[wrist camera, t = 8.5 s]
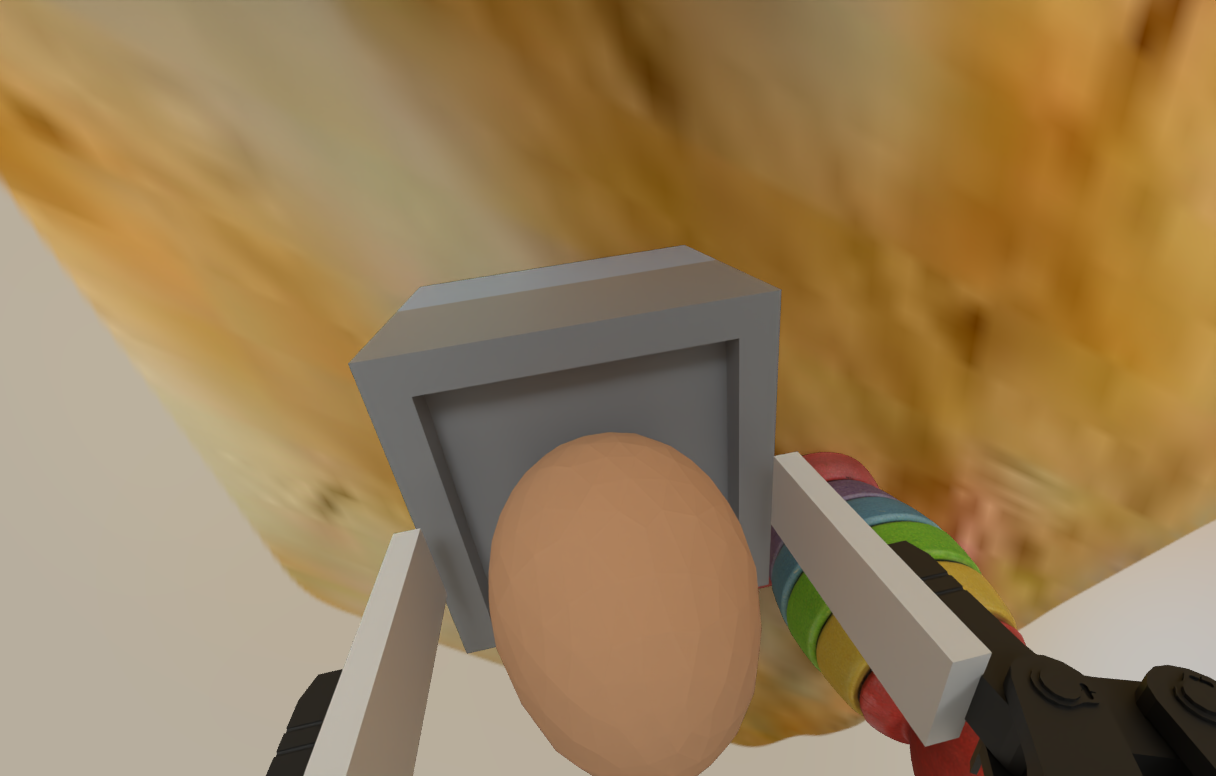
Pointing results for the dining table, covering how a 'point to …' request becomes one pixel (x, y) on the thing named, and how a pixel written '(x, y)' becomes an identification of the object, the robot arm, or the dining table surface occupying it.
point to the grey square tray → (570, 392)
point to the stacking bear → (829, 645)
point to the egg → (626, 606)
